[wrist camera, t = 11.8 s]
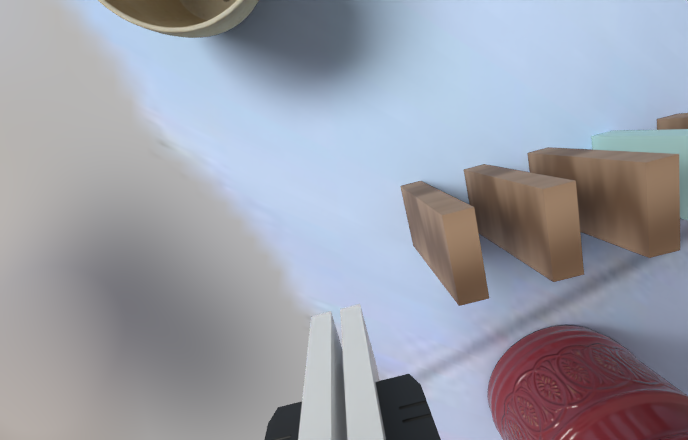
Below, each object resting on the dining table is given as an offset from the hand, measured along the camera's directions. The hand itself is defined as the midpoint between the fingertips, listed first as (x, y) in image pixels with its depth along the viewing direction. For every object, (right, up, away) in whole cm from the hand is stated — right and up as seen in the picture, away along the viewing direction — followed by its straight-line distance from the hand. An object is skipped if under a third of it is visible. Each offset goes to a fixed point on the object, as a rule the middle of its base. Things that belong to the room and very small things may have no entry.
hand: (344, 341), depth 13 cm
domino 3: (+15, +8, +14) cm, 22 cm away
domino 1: (+6, +5, +14) cm, 16 cm away
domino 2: (+11, +6, +14) cm, 18 cm away
